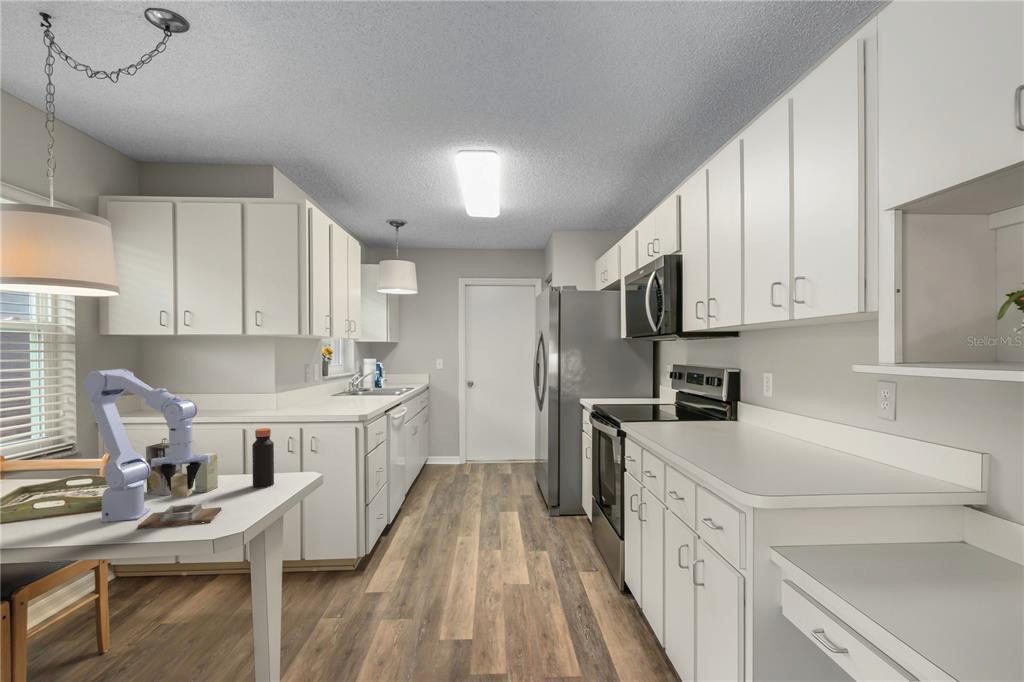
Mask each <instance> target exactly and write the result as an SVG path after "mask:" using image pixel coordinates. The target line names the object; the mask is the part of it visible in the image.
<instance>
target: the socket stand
mask: <svg viewBox="0 0 1024 682" xmlns="http://www.w3.org/2000/svg"><path fill="white" fill-rule="evenodd" d="M220 511H222V507H219V506H218V507H207V508H206V507H205V508H203V504H202V502H201V503H190V504H189V503H186V504H179V505H178V504H177V505H175V504H174V505H171V506H169V507H168V508H167V509H165V511H162V512H161V511H160V512H159V511H158V512H153V513H151V514H150V515H149V516H148V517H146V519H143V520H142V521H141V522H140V523H139V524H138V526H137V529H138V530H141V528H144V529H153V528H152V527H156V528H163V527H162V526H167V527H173V526H172V525H178V526H185V525H184V524H189V525H193V524H192V523H200V524H203V523H202V522H211V521H212V520H213V519H214V520H215V518H216V517H217V516H218V515H219V514H220V513H221V512H220ZM219 512H220V513H219ZM218 513H219V514H218ZM217 514H218V515H217ZM216 515H217V516H216ZM215 516H216V517H215ZM214 517H215V518H214ZM214 520H213V521H214ZM213 521H212V522H213ZM212 522H211V523H212Z"/></svg>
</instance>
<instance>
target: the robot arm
mask: <svg viewBox="0 0 1024 682" xmlns="http://www.w3.org/2000/svg"><path fill="white" fill-rule="evenodd" d="M83 387H84V389H85V392H86V394H87V397H88V399H89V400H88V402H89V406H90V409H91V411H92V414H93V416H94V419H95V422H96V424H97V427H98V429H99V432H100V435H101V437H102V440H103V443H104V445H105V448H106V451H107V453H108V455H109V458H110V459H109V460H108V462H107V463H105V465H104V466H103V469H104V473H105V474H104V475H105V477H104V478H105V484H107V487H108V488H106V489H105V490H104V491H103V493H102V497H101V520H100V523H108V522H117V521H129V520H130V521H131V520H138V519H140V518H141V517H143V516H144V515H146V514H147V513H148V512H149V511H151V509H150V508H145V484H147V478H148V477H149V476H150V472H151V469H150V466H149V464H148V463H147V462H146V459H144V456H143V454H141V453H139V452H136V451H134V450H133V447H132V444H131V443H130V442H131V441H130V440H129V437H128V435H127V431H126V430H125V426H124V424H123V422H122V418H121V416H120V414H119V410H118V409H117V405H116V403H115V402H116V401H117V399H119V398H120V397H121V396H122V395H123V394H124V392H129V393H131V394H134V395H136V396H138V397H139V398H142V399H144V400H145V405H146V406H148V407H150V408H151V409H153V410H155V411H157V412H159V413H160V414H162V415H163V418H164V419H165V421H166V427H167V428H168V443H169V457H163V458H154V459H152V460H151V467H153V466H160V465H162V467H161V468H160V471H161V472H162V474H163V475H164V477H165V478H166V480H167V483H168V486H169V489H170V491H171V477H172V476H174V475H175V470H176V464H182V465H186V467H185V468H186V473H187V475H188V489H191V488H192V489H193V488H194V485H195V476H196V474H197V471H198V469H199V467H200V466H201V463H209V462H210V455H202V454H193V453H194V451H193V450H194V448H193V447H194V445H193V442H194V440H193V419H194V418H195V417H196V416H197V413H198V407H197V404H196V402H194V401H193V400H192V399H189V398H188V399H181V397H180V396H178V395H177V396H175V395H174V394H172V393H170V392H169V391H168V389H167V388H165V387H164V388H161V387H160V388H159V387H158V388H153V387H151V386H149V385H148V384H146V383H145V382H143V381H142V380H140V379H139V378H137V377H136V376H135V375H134V372H132V371H129V370H128V369H126V368H123V367H122V368H118V369H117V368H116V369H106V370H105V369H104V370H91V371H90V372H89V373H88V374H87V375H86V376H85V379H84V381H83Z"/></svg>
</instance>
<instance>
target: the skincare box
mask: <svg viewBox="0 0 1024 682" xmlns="http://www.w3.org/2000/svg"><path fill="white" fill-rule="evenodd" d="M201 455H210V462H209V463H201V466H200V467H199V469H198V471H197V474H196V476H195V480H194V492H195V493H208V492H211V491H213V490H215V489H217V488H218V487H219V486H218V485H219V484H218V483H219V482H218V481H219V480H218V476H219V475H218V453H217V452H206V453H203V454H201ZM216 487H217V488H216ZM214 488H215V489H214ZM212 489H213V490H212ZM210 490H211V491H210Z"/></svg>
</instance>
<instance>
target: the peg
mask: <svg viewBox="0 0 1024 682" xmlns="http://www.w3.org/2000/svg"><path fill="white" fill-rule="evenodd" d="M192 494H193V488H191V489H188V475H187V472H182V473H179V474H175V475H174V476H172V477H171V494H170V498H171V499H179V498H180V499H181V498H188V497H189V496H190V495H192Z"/></svg>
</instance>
